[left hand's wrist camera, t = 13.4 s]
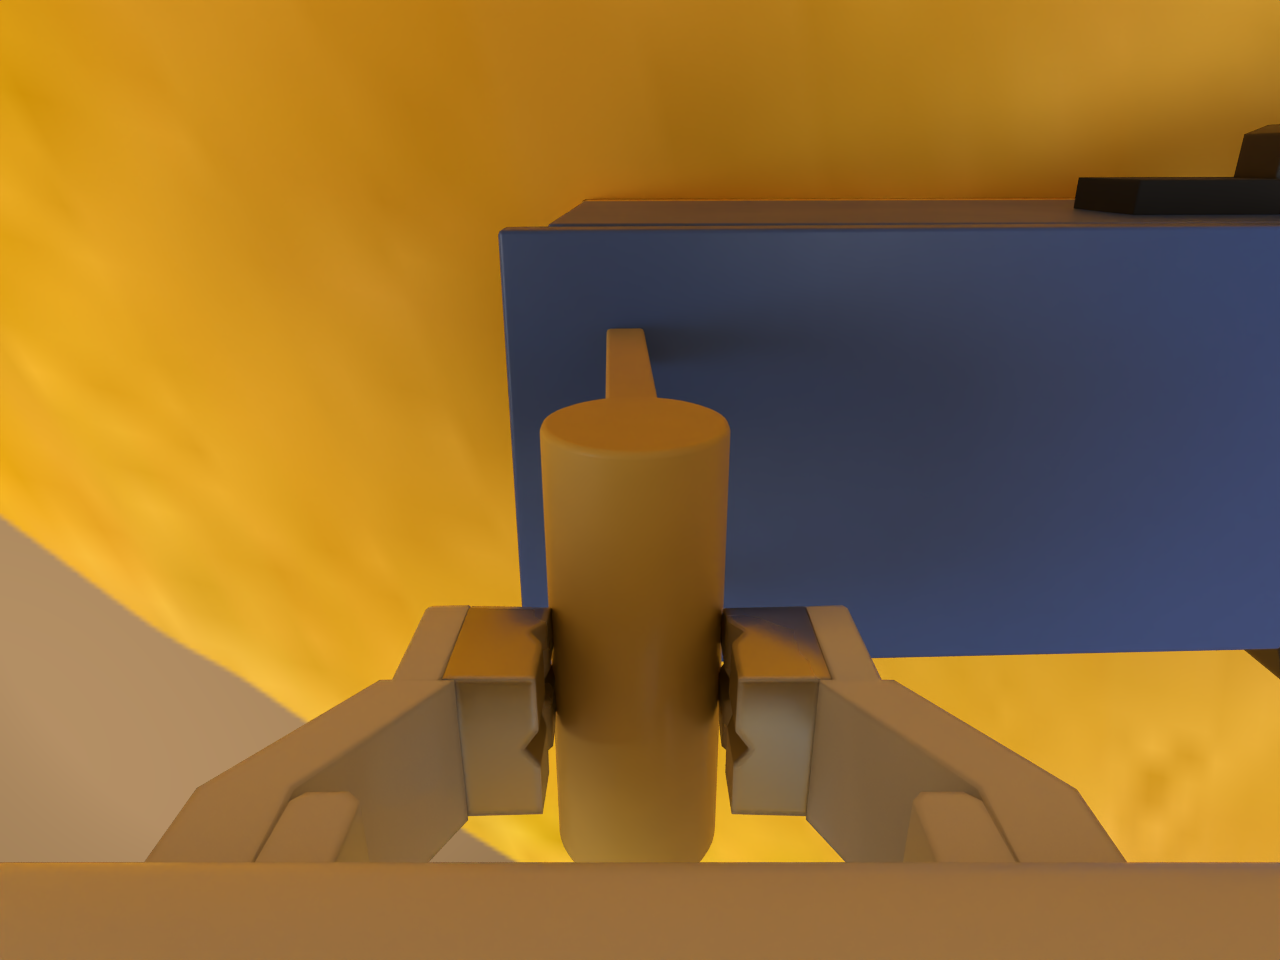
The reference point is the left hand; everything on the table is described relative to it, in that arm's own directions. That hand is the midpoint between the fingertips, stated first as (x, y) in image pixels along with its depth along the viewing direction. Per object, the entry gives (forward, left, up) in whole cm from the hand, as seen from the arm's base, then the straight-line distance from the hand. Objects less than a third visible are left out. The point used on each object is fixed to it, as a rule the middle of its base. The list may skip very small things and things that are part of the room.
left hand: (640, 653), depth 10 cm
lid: (+4, +4, -8) cm, 10 cm away
